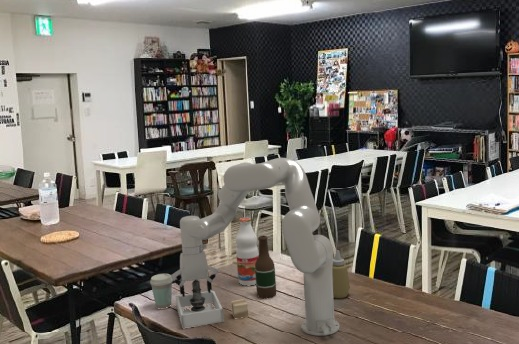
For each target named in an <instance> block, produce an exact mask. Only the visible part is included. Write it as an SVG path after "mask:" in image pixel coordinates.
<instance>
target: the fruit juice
mask: <svg viewBox="0 0 519 344" xmlns="http://www.w3.org/2000/svg"><path fill="white" fill-rule="evenodd" d="M239 224H240V225H239V228H238V231H237V234H236V236H235V244H236V246H237V247H236V251H235V252H236V253H235V255H236V266H237V281H238V284H239V283H240V284H242V285H254V286H256V285H255V284H256V274H255V263H256V260H257V259H258V257H259V246H257V244H258V236H257V233H255V230H254V229H253V226H252V219H251V217H247V216H245V217H240V218H239ZM240 284H239V285H240ZM242 285H241V286H242Z"/></svg>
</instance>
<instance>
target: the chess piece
mask: <svg viewBox="0 0 519 344" xmlns="http://www.w3.org/2000/svg"><path fill="white" fill-rule="evenodd" d="M191 285H192V289H191V292H192V294H193V298H191V299H190V302H191V305H192V306H193V307H192V308H191V310H192V311H194V312H198V311H202V310H204V309H205V307H204V306H203V304H204V302H205V298H204V297H202V296H201V292H202V289H201V283H200V280H199V279H198V280H192V282H191Z"/></svg>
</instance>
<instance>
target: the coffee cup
mask: <svg viewBox="0 0 519 344" xmlns="http://www.w3.org/2000/svg"><path fill="white" fill-rule="evenodd" d="M171 275H172V274H169V273H158V274H156V275H153V276H151V278H150V282H149V284H150V286H151V289H152V294H153V295H152V296H153V300H154V303H155V308H156V307H157V308H166V307H169V306H170V305H171V306H172V296H173V295H172V293H173V289H172V287H173V282H174V280H173V279H172V277H171ZM157 308H156V309H157Z"/></svg>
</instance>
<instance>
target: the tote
mask: <svg viewBox="0 0 519 344" xmlns="http://www.w3.org/2000/svg"><path fill="white" fill-rule="evenodd" d="M210 292H211V293H208V290H206V291H201V296H202V297H204V298H205V302H204V306H205V309H204V310H202V311H198V312H194V311H192V310H191V311H190V310H189V309H187V308H186V310H185V309H184V311H183V310H182V308H181V307H185V306H191V302H190V299H191V298H193V293H187V294H185V296H184V297H183V296H182V294H180V295H176V296H175V303H176V310H177V309H178V310H177V313H179V314H178V317H180V318H179V321H181V322H180V324H182V325H181V328H185V327H192V326H198V325H206V324H212V325H214V324H213V323H218V322H224V323H225V318H224V309H223V307H222V305H221V304H222V303H221V302H220V300H219V298H218V297H217V294H216V291H215V290H214V289H212V290H210ZM211 302H213V303H214V304H213V305H214V306H215V308H216V309H214V307H212V304H210V305H211V307H210V305H209V304H207V305H208V307H206V304H205V303H211ZM189 308H190V307H189ZM218 324H219V323H218ZM206 326H207V325H206Z"/></svg>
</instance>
